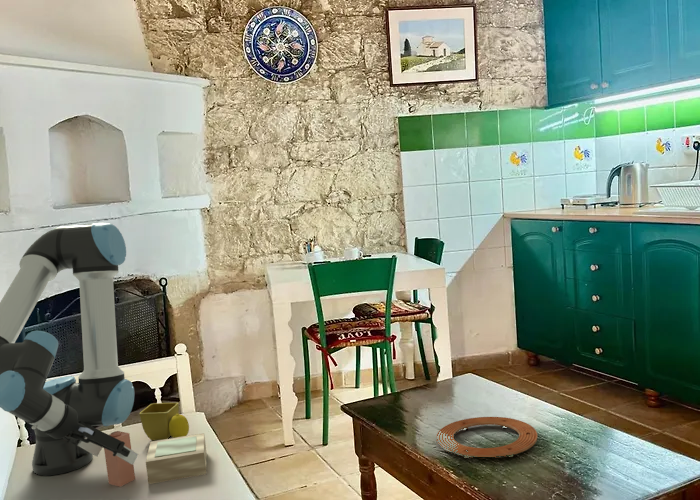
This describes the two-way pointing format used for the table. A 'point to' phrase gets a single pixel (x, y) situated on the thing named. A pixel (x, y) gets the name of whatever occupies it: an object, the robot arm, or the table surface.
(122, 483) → the pink knobbed block
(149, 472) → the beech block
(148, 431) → the flower pot
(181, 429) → the lemon
